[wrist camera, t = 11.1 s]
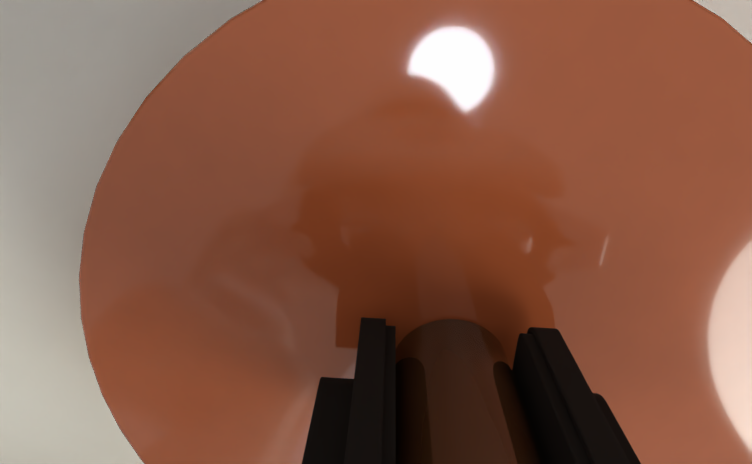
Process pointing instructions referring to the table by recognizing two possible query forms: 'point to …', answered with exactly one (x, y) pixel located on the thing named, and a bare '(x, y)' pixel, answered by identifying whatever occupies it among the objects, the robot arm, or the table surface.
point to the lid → (431, 227)
